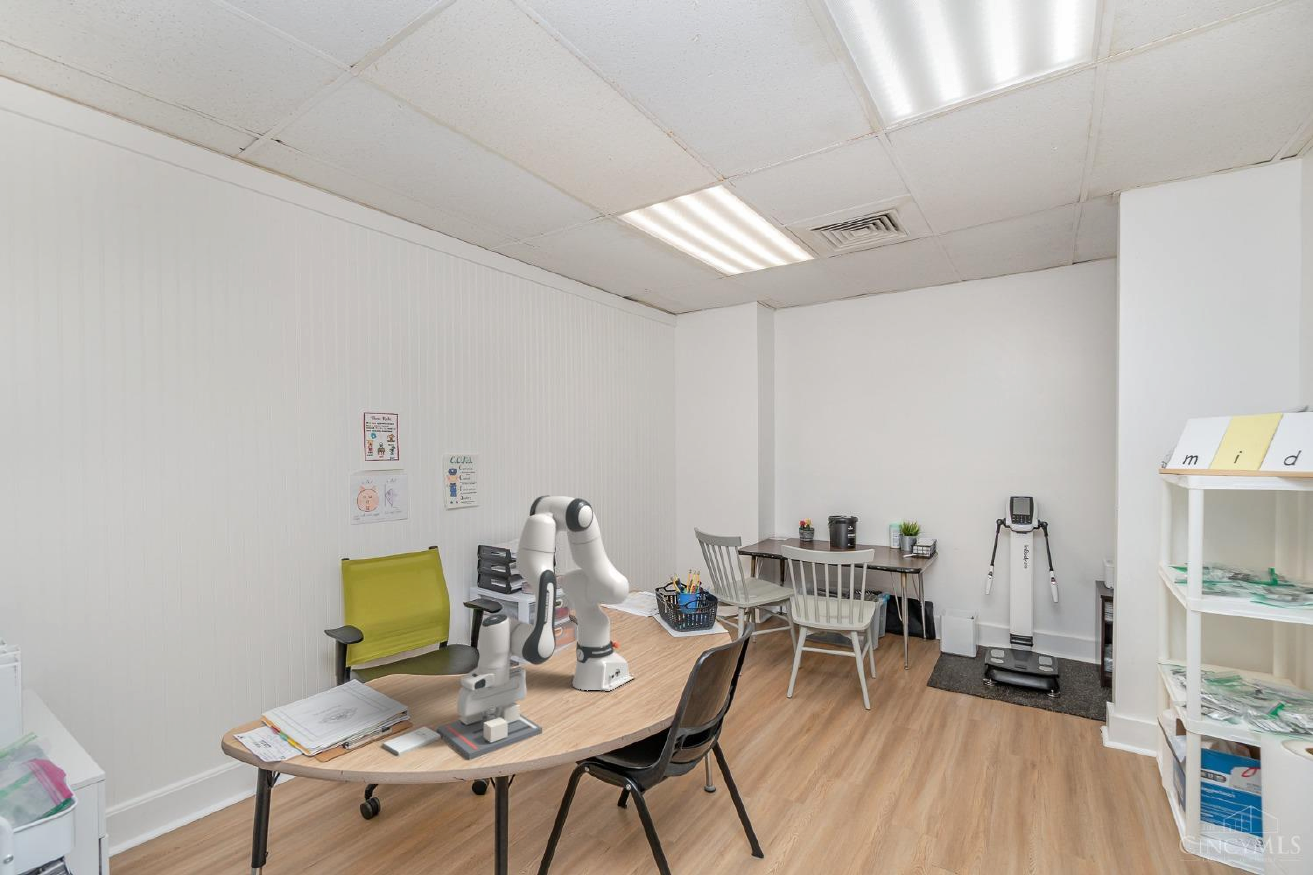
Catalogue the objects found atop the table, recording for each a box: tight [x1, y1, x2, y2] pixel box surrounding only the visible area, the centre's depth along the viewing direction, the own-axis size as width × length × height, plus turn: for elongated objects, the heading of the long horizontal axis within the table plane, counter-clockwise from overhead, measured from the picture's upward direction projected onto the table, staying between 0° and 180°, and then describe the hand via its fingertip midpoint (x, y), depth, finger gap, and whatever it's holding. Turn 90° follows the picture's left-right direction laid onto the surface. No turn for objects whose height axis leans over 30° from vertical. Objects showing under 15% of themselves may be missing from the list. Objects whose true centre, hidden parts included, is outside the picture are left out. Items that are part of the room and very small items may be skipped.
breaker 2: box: [483, 717, 508, 743], centre depth 163 cm, size 5×4×4 cm
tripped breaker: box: [499, 702, 521, 723], centre depth 173 cm, size 5×4×4 cm
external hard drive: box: [381, 726, 442, 757], centre depth 163 cm, size 2×8×12 cm
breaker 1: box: [459, 712, 483, 725], centre depth 173 cm, size 5×4×4 cm
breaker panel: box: [436, 708, 543, 761], centre depth 169 cm, size 22×20×2 cm
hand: (492, 722), depth 170 cm, fingers closed
